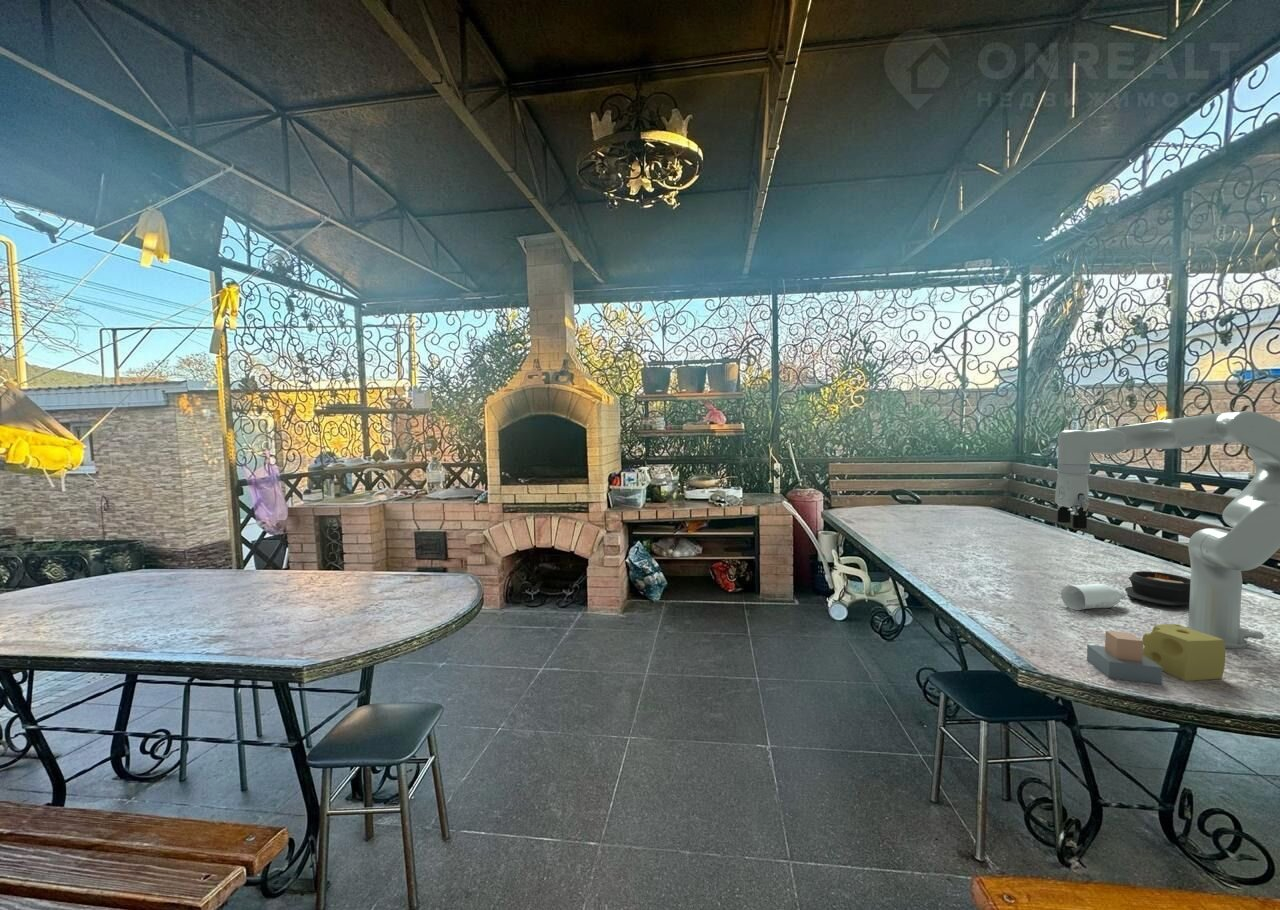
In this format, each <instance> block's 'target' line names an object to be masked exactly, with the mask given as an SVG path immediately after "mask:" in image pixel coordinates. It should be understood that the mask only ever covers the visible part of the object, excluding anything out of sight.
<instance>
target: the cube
mask: <svg viewBox="0 0 1280 910" xmlns="http://www.w3.org/2000/svg"><path fill="white" fill-rule="evenodd" d="M1104 636H1105V637H1104V638H1105V639H1104V640H1105V641H1104V647H1105V650H1106V651H1107V652H1108V653H1110V654H1111V655H1112V656H1114V657H1115V658H1116V659H1125V660H1134V661H1142V660H1143V648H1144V644H1143V641H1142V639H1141V638H1139V637H1138V636H1136V635H1134V634H1133V633H1131V632H1123V631H1113V630H1105V635H1104Z"/></svg>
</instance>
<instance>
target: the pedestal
mask: <svg viewBox="0 0 1280 910" xmlns="http://www.w3.org/2000/svg"><path fill="white" fill-rule="evenodd" d="M1086 646H1087V649H1086V651H1087V652H1086V661H1088V663H1091V665H1092V666H1094V667H1095V668H1096V669H1097V670H1098V671H1100V672H1101V673H1102V674H1103V675H1105V676H1106V677H1107V678H1108V679H1114V680H1115V679H1116V680H1125V681H1130V682H1131V680H1132V682H1138V681H1141V682H1140V683H1146V682H1150V683H1149V684H1155V683H1156V685H1163V671H1162V670H1163V668H1162V667H1161V666H1159V665H1158V664H1156V663H1155V662H1153V661H1152V660H1150V659H1149V658H1147V657H1146V656H1144V655H1143V660H1142V661H1134V660H1125V659H1116V658H1115V657H1114V656H1112V655H1111V654H1110V653H1108V652H1107V651H1106V650H1105V645H1094V644H1093V645H1092V644H1087V645H1086Z"/></svg>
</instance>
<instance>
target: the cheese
mask: <svg viewBox="0 0 1280 910" xmlns="http://www.w3.org/2000/svg"><path fill="white" fill-rule="evenodd" d="M1187 627H1188V626H1184V625H1181V624H1178V623H1176V624H1175V623H1174V624H1172V623H1170V624H1169V623H1168V624H1165V623H1164V624H1156V625H1153V628H1152V631H1150V632H1149V633H1146V632H1145V633H1144V634H1143V635H1142V639H1141V640H1142V641H1143V655H1144V656H1146V657H1147V658H1149V659H1150V660H1152V661H1153V662H1155V663H1156V664H1158V665H1159V666H1161V667H1162V668H1163V670H1162V672H1164V673H1167V674H1168V675H1171V676H1173V677H1175V678H1177V677H1178V678H1177V679H1179V678H1180V680H1181V681H1184V682H1188V681H1189V682H1191V681H1205V680H1219V679H1222V680H1223V676H1224V672H1225V666H1226V665H1225V664H1226V647H1225V644H1224V640H1223V639H1220V638H1217V637H1214V636H1211V635H1208V634H1205V633H1201V632H1198V631H1195V630H1192V629H1189V628H1187Z"/></svg>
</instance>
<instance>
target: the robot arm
mask: <svg viewBox="0 0 1280 910" xmlns="http://www.w3.org/2000/svg"><path fill="white" fill-rule="evenodd" d="M1057 441H1058V445H1057V446H1058V448H1057V450H1058V451H1057V469H1056V471H1057V473H1056V474H1057V478H1056V482H1055V483H1056V484H1055V492H1054V493H1055V494H1054V502H1055V504H1057V507H1056V509H1057V514H1056V515H1057V517H1056V522H1057V523H1067V524H1069V523H1071V516H1072V528H1073V529H1081V530H1082V529H1088V528H1087V525H1088V524H1087V523H1088V522H1087V521H1088V512H1089V507H1090V501H1089V478H1088V477H1089V476H1091V475H1090V473H1091V454H1092V453H1093V454H1103V455H1117V454H1120V453H1122V452H1124V451H1127V450H1128V451H1129V450H1141V449H1142V450H1145V449H1147V450H1149V449H1150V450H1152V449H1153V450H1171V449H1174V450H1175V449H1182V448H1183V449H1185V448H1190V447H1202V446H1209V445H1211V446H1212V445H1219V444H1229V443H1231V444H1232V443H1235V444H1237V443H1240V444H1242V445H1244V446H1246V447H1248V453H1249V456H1250V458H1251V460H1252V461H1253V464H1254V466H1255V474H1254V476H1253V478H1252V479H1251V481H1250V482H1249V483H1248V484H1247V485H1246V487H1244V488H1243V489H1242V491H1240V493H1238V495H1237V496H1236V497H1234V499H1233V500H1231V502H1230V503H1229V504H1228V505H1227V506H1226V507H1225V508H1224V510H1223V511H1222V515H1221V517H1222V520H1223V521H1224V523H1225V524H1226V525H1228V526H1229V527H1231V530H1226V529H1221V528H1216V527H1212V528H1211V527H1209V528H1208V527H1207V528H1202V529H1199V530H1197V531H1195V532H1194V533H1193V534H1192V535H1191V537H1190V538H1189V540H1188V543H1187V544H1188V546H1187V548H1188V554H1189V556H1188V557H1189V561H1190V562H1189V563H1190V579H1191V582H1190V601H1189V605H1188V623H1187V625H1188V626H1186V627H1187V628H1189V629H1192V630H1195V631H1198V632H1201V633H1205V634H1208V635H1211V636H1214V637H1217V638H1220V639H1223V640H1224V644H1225V649H1239V650H1240V649H1246V648H1247V647H1248V645H1249V643H1248V640H1246V639H1249V638H1250V639H1251V638H1252V639H1256V640H1263V639H1265V636H1264V633H1263V632H1262V631H1257V630H1255V631H1254V630H1251V631H1250V629H1248V628H1243V627H1241V611H1242V609H1241V607H1242V592H1243V591H1242V590H1243V577H1242V576H1243V574H1242V572H1245V571H1251V570H1255V569H1257V568H1258V567H1260V566H1261V565H1263V564H1265V562H1266V561H1268V560H1269V559H1270V558H1271V557H1272V556H1273V555H1274V554H1275V553H1276V552H1277V551H1278V550H1280V421H1279V420H1276V419H1274V418H1271V416H1267V415H1264V414H1262V413H1259V412H1256V411H1248V410H1247V411H1246V410H1243V411H1241V410H1240V411H1228V412H1227V411H1226V412H1217V413H1209V414H1202V415H1195V416H1193V415H1192V416H1187V417H1185V416H1184V417H1179V418H1177V417H1176V418H1171V419H1170V418H1168V419H1161V420H1156V421H1150V422H1145V423H1136V424H1127V425H1120V426H1114V427H1113V426H1112V427H1104V428H1098V429H1094V430H1093V429H1092V430H1085V429H1073V430H1072V429H1066V430H1062V431H1060V432H1059V433H1058V440H1057ZM1071 507H1072V509H1071ZM1071 510H1073V512H1074V513H1073V515H1071V514H1072V511H1071Z"/></svg>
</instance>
